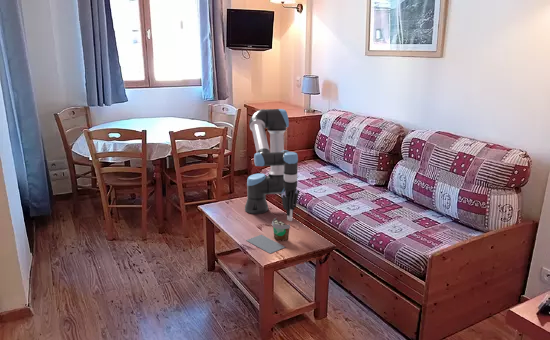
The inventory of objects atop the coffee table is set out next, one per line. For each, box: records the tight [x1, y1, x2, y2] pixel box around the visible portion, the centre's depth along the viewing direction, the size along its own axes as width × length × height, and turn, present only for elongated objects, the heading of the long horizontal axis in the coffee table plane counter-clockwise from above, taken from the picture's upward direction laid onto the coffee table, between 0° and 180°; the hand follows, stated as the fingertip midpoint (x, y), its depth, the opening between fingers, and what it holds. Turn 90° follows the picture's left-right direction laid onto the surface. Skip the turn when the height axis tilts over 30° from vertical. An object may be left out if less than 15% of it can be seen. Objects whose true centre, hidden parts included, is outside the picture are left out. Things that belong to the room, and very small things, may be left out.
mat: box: [245, 234, 286, 255], centre depth 236 cm, size 11×20×1 cm, turn 42°
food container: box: [271, 217, 291, 242], centre depth 241 cm, size 12×6×10 cm, turn 40°
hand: (289, 220), depth 245 cm, fingers closed
